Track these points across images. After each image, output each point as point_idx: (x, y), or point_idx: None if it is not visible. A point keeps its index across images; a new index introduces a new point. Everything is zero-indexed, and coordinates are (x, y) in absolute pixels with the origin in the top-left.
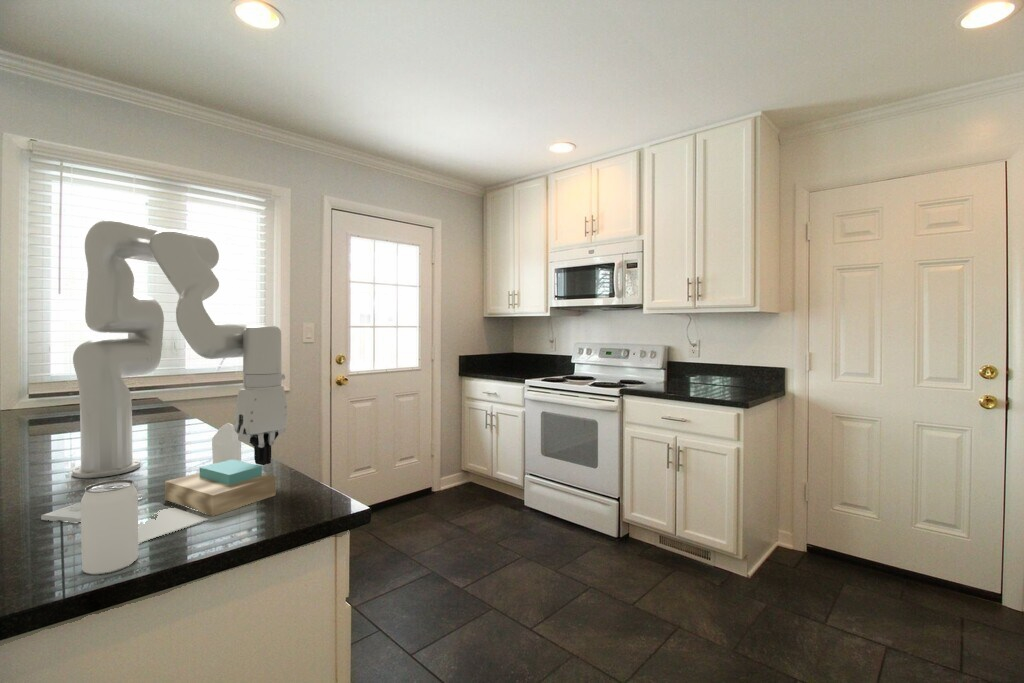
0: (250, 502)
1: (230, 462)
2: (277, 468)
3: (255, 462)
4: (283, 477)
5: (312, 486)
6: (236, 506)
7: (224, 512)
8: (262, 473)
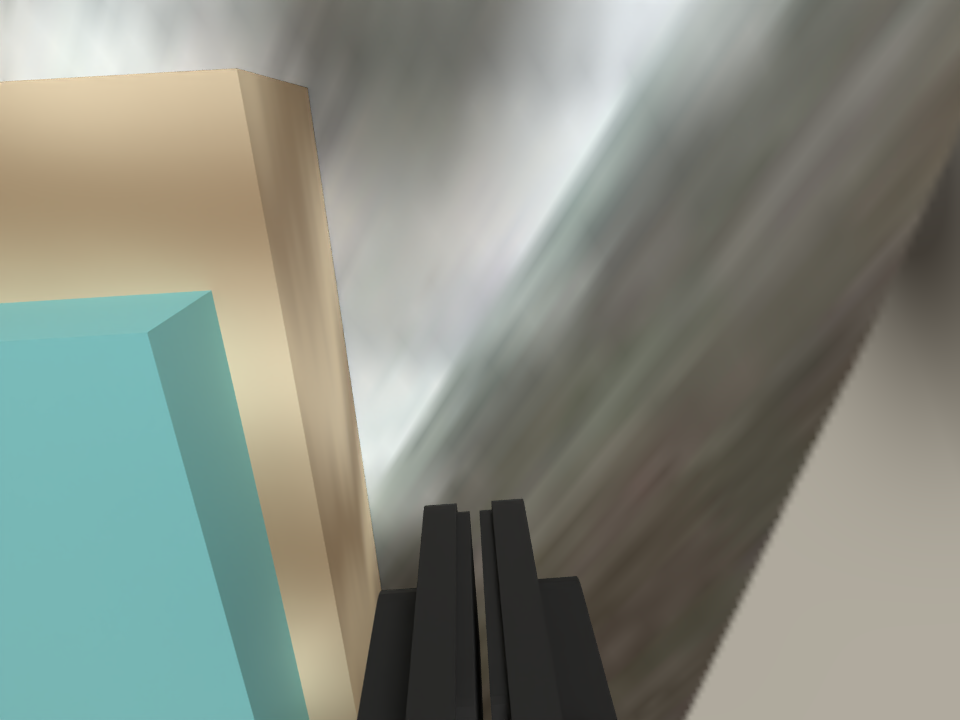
0: None
1: (60, 479)
2: (934, 37)
3: (424, 514)
4: (709, 385)
5: (648, 705)
6: None
7: None
8: (349, 704)
